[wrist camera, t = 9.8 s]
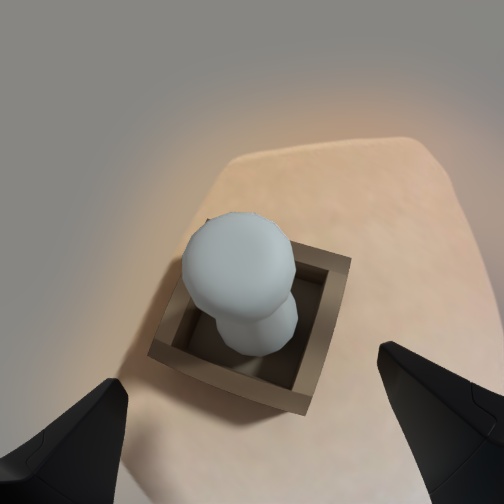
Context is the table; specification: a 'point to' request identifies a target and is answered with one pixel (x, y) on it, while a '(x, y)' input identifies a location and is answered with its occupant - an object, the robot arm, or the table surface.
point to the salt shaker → (243, 281)
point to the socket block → (269, 366)
